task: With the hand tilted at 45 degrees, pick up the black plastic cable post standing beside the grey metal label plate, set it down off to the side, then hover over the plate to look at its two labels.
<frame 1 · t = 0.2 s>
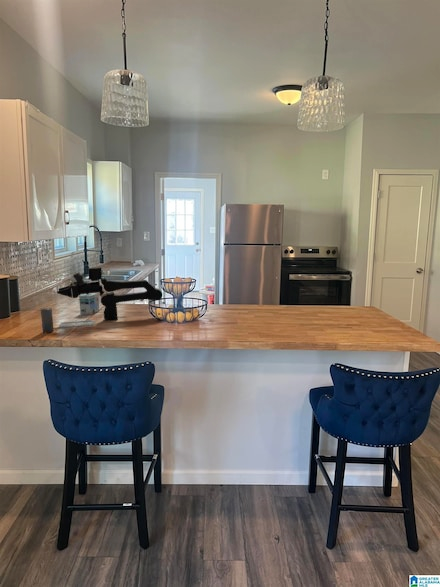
hand: (58, 291, 211), 17 cm above the countertop, tool horizontal, fingers open, 9 cm apart
light bulb box: (90, 313, 239), on the countertop
cable post: (48, 331, 197), on the countertop
label plate: (76, 324, 210), on the countertop
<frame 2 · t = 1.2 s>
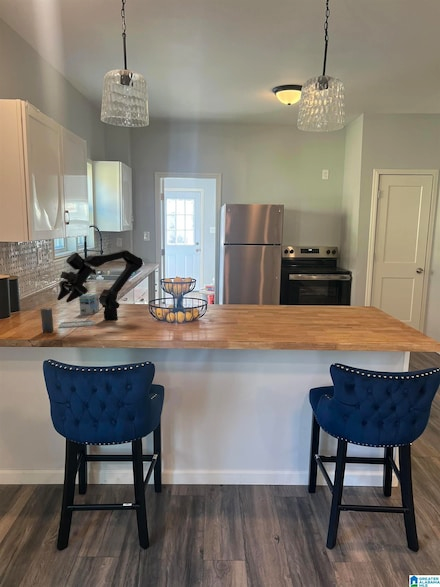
hand: (62, 300, 200), 14 cm above the countertop, tool tilted 45°, fingers open, 9 cm apart
nothing on the countertop moved.
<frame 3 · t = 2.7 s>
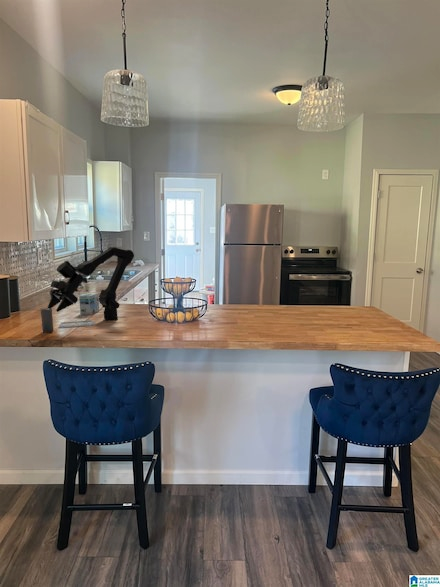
hand: (52, 310, 197), 10 cm above the countertop, tool tilted 45°, fingers open, 9 cm apart
nothing on the countertop moved.
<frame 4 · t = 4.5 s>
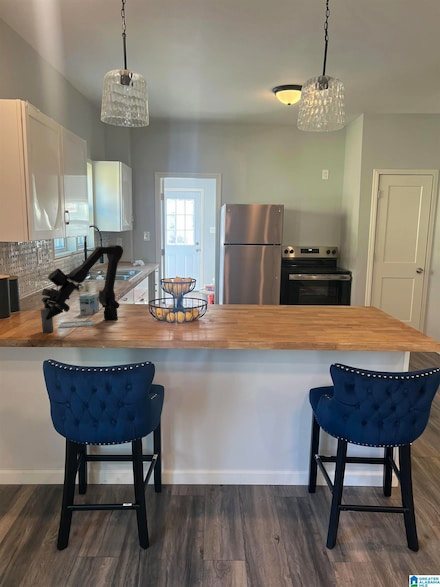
hand: (44, 318, 195), 7 cm above the countertop, tool tilted 45°, fingers closed on cable post, 5 cm apart
cable post: (48, 331, 197), on the countertop, touching gripper
everything else where it was.
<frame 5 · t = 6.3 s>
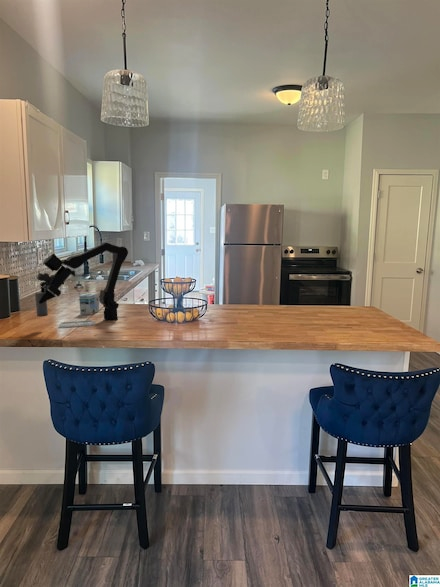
hand: (38, 302, 199), 13 cm above the countertop, tool tilted 45°, fingers closed on cable post, 5 cm apart
cable post: (42, 315, 201), point 7 cm above the countertop, touching gripper
everything else where it was.
when the fingers open (8 cm above the countertop, at t = 8.4 s): cable post drops 1 cm, on the countertop.
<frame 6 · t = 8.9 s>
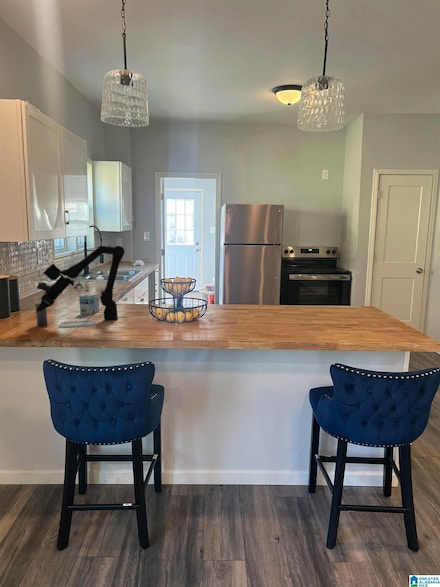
hand: (38, 309, 209), 8 cm above the countertop, tool tilted 45°, fingers open, 9 cm apart
cable post: (42, 324, 211), on the countertop
everything else where it was.
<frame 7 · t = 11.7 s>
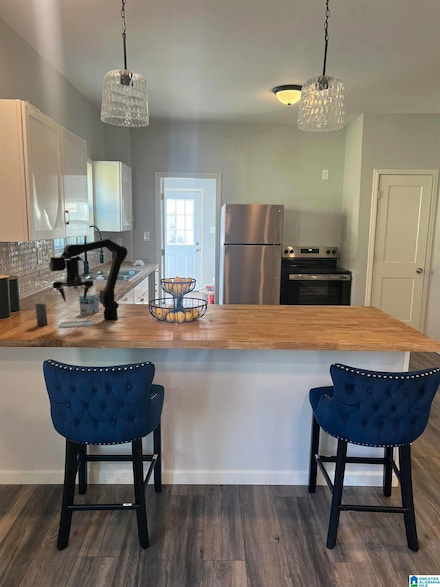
hand: (74, 301, 208), 12 cm above the countertop, tool pointing down, fingers open, 9 cm apart
nothing on the countertop moved.
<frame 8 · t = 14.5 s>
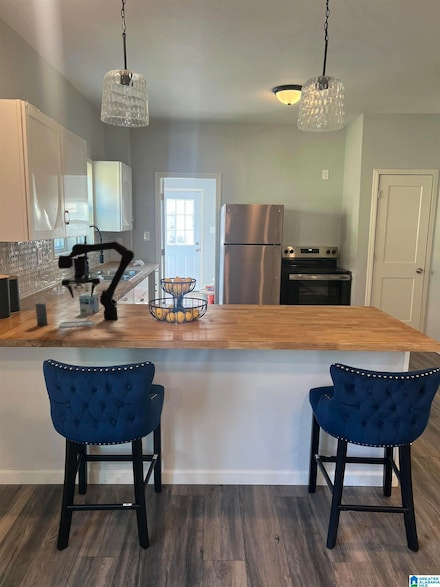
hand: (82, 297, 218), 12 cm above the countertop, tool pointing down, fingers open, 9 cm apart
nothing on the countertop moved.
at the end: cable post inside the target area (0.1 cm from its centre), on the countertop; cable post tilted 0°; cable post touching countertop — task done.
